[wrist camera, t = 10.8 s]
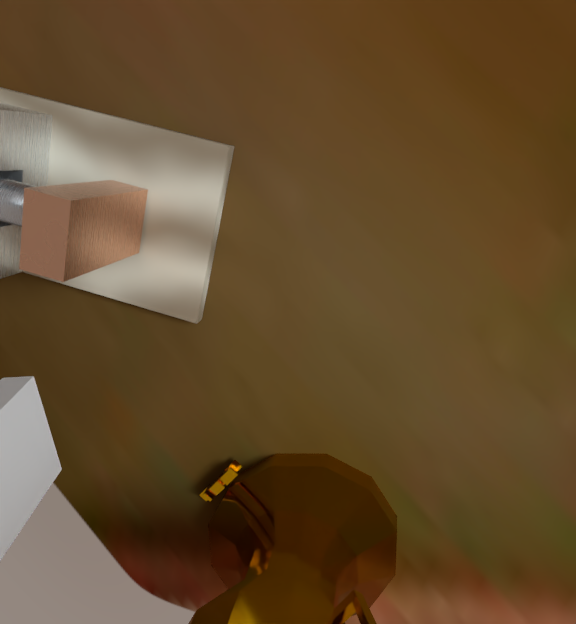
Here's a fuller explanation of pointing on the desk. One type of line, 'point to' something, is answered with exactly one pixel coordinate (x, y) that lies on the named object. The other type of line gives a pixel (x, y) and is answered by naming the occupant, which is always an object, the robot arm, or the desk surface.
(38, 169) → the bearing block
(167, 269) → the base board
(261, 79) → the desk surface
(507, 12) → the desk surface
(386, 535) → the trophy cup
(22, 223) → the shaft
